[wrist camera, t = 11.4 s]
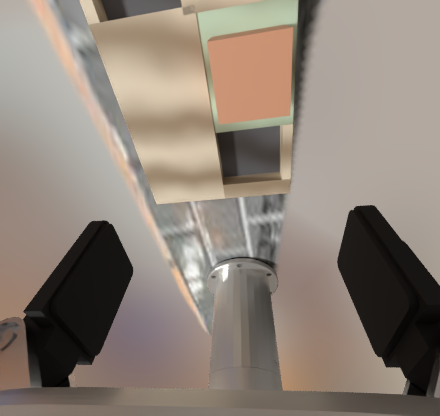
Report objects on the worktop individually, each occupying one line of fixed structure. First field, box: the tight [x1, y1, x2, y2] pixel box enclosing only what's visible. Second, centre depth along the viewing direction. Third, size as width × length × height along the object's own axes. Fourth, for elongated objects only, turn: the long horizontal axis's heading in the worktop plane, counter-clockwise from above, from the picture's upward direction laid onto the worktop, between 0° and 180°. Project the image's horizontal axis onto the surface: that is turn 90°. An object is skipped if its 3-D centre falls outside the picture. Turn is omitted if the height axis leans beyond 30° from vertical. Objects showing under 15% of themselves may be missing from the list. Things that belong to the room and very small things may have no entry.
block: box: [207, 25, 293, 125], centre depth 21 cm, size 6×6×4 cm
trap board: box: [80, 0, 298, 204], centre depth 24 cm, size 27×17×2 cm, turn 8°
